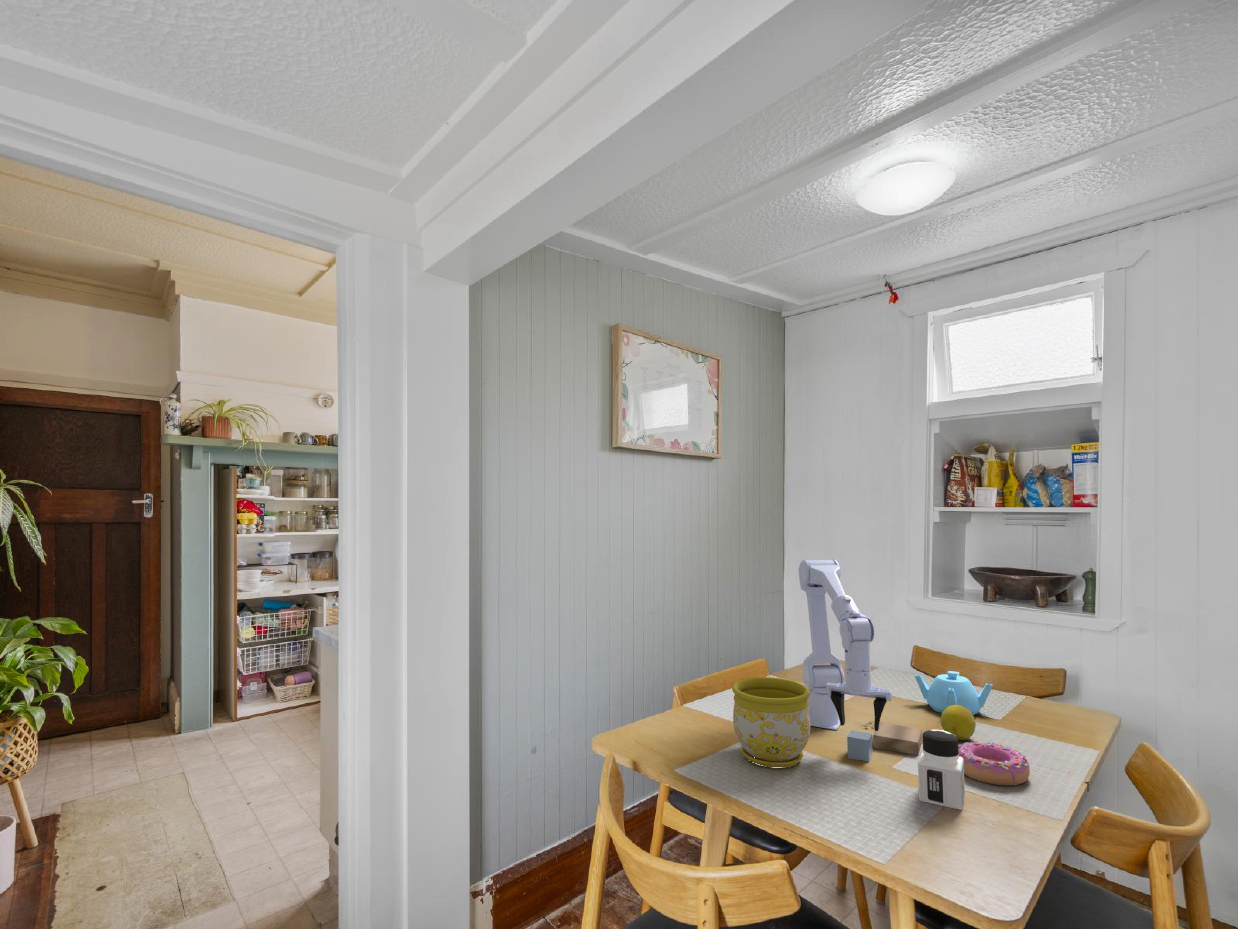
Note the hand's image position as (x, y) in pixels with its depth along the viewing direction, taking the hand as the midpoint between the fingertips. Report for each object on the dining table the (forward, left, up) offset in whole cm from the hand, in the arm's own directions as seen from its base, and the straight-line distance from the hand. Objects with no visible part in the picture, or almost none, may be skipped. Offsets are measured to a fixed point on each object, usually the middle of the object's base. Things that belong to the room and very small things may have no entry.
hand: (859, 727), depth 149 cm
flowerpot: (-18, -11, -7) cm, 22 cm away
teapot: (+18, +47, -7) cm, 51 cm away
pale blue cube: (0, 0, -7) cm, 7 cm away
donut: (+27, +4, -7) cm, 28 cm away
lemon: (+20, +24, -7) cm, 32 cm away
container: (+18, -14, -7) cm, 24 cm away
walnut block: (+7, +12, -7) cm, 16 cm away
